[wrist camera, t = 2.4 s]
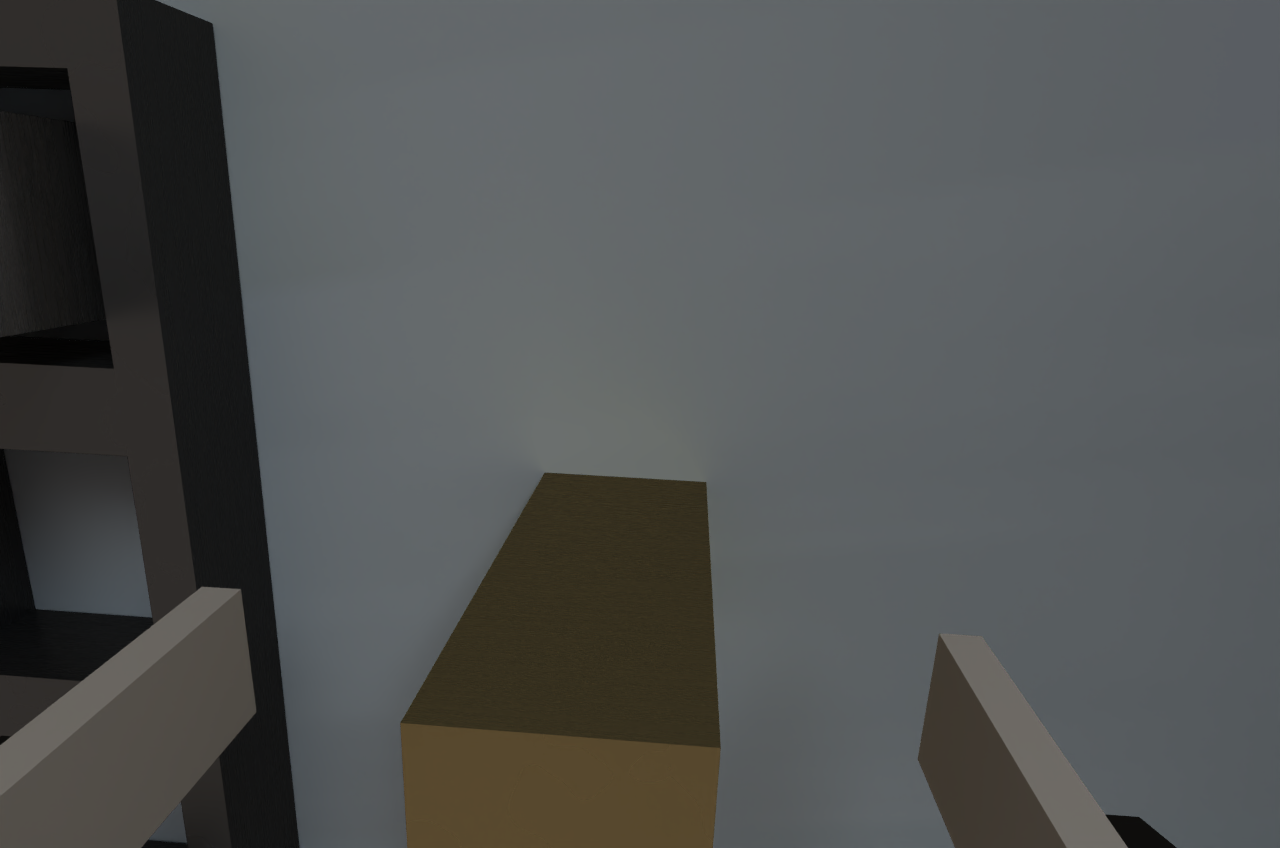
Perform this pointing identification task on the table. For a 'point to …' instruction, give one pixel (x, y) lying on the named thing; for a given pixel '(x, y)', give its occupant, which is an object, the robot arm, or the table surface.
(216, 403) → the dark grey frame bar
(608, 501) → the brass peg
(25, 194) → the zinc peg
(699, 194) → the table surface
